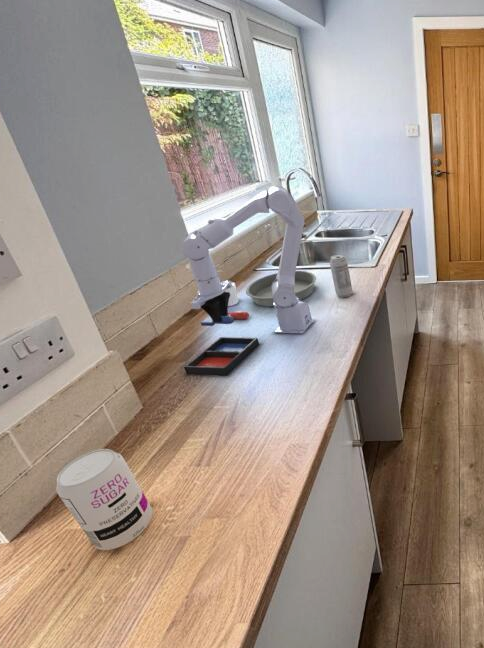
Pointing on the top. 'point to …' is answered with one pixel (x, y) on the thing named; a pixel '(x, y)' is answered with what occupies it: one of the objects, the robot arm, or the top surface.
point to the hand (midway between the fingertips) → (221, 319)
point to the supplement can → (104, 498)
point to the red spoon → (239, 315)
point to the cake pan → (263, 291)
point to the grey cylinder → (341, 275)
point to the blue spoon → (210, 322)
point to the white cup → (232, 295)
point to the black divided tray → (222, 356)
